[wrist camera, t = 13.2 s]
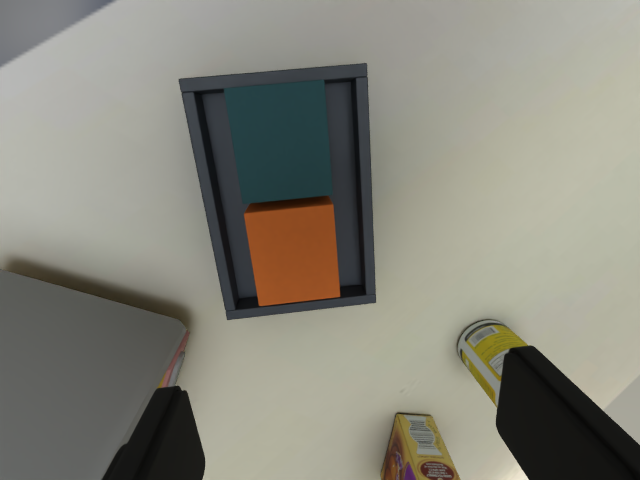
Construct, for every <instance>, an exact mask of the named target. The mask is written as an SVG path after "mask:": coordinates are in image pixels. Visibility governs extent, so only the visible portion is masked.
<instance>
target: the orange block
mask: <svg viewBox="0 0 640 480" xmlns="http://www.w3.org/2000/svg"><path fill="white" fill-rule="evenodd" d="M244 218H245V224H246V230H247V236H248V243H249V249H250V255H251V261H252V267H253V273H254V279H255V285H256V291H257V297H258V303H259V306H266V305H274V304H283V303H292V302H300V301H309V300H318V299H326V298H335V297H340V285H339V272H338V258H337V245H336V232H335V219H334V206H333V203H332V201H331V200H330V198H329V196H319V197H309V198H299V199H289V200H279V201H269V202H260V203H250V204H249V206H248V208H247V209H246V211H245V213H244Z"/></svg>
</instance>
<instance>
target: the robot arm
mask: <svg viewBox="0 0 640 480" xmlns="http://www.w3.org/2000/svg"><path fill="white" fill-rule="evenodd" d="M496 427H497V430H498V432H499V434H500V436H501V438H502V439H503V441H504V442H505V444H506V445H507V447H508V448H509V450H510V451H511V453H512V454H513V456H514V457H515V459H516V460H517V462H518V464H519V465H520V467H521V468H522V470H523V471H524V473H525V474H526V476H527V477H528V479H529V480H640V445H639V444H638V443H637V442H636V441H635V440H634V439H633V438H632V437H631V436H629V435H628V434H627V433H626V432H625V431H624V430H623V429H622V428H621V427H620V426H619V425H618V424H617V423H616V422H614V421H613V420H612V419H611V418H610V417H609V416H608V415H607V414H606V413H605V412H604V411H603V410H602V409H601V408H599V407H598V406H597V405H596V404H595V403H594V402H593V401H592V400H591V399H590V398H589V397H588V396H587V395H586V394H584V393H583V392H582V391H581V390H580V389H579V388H578V387H577V386H576V385H575V384H574V383H573V382H572V381H571V380H570V379H568V378H567V377H566V376H565V375H564V374H563V373H562V372H561V371H560V370H559V369H558V368H557V367H556V366H555V365H553V364H552V363H551V362H550V361H549V360H548V359H547V358H546V357H545V356H544V355H543V354H542V353H541V352H540V351H538V350H537V349H536V348H535V347H534V346H521V347H513V348H510V349H509V352H508V353H507V354H505V355H504V360H503V368H502V376H501V384H500V392H499V399H498V407H497V415H496ZM204 470H205V456H204V452H203V448H202V445H201V441H200V437H199V434H198V430H197V426H196V423H195V419H194V415H193V412H192V408H191V404H190V401H189V397H188V393H187V391H185V390H184V391H182V390H181V388H180V387H179V386H171V387H163V388H157V389H156V390H155V392H154V393H153V395H152V397H151V399H150V401H149V403H148V405H147V407H146V408H145V410H144V412H143V414H142V416H141V418H140V420H139V422H138V424H137V426H136V427H135V429H134V431H133V433H132V435H131V437H130V439H129V441H128V443H126V444H124V445H123V446H121V447H120V448H119V450H118V451H117V453H116V454H115V456H114V458H113V460H112V462H111V464H110V466H109V467H108V469H107V471H106V473H105V475H104V477H103V478H102V480H202V479H203V475H204Z"/></svg>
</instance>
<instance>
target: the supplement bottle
mask: <svg viewBox="0 0 640 480" xmlns="http://www.w3.org/2000/svg"><path fill="white" fill-rule="evenodd" d="M521 346H528V345H527V344H526V343H525V342H524V341H523V340H522V339H521V338H519V337H518V336H517V335H516V334H515V333H514V332H513V331H511V330H510V329H509V328H508V327H507V326H505V325H504V324H502V323H500V322H498V321H493V320H485V321H481V322H478V323H475V324H474V325H472V326H470V327H469V328H468V329H467V330H466V331H465V332H464V333H463V335H462V336H461V338H460V340H459V344H458V353H459V356H460V358H461V360H462V361H463V363H464V364H465V366H466V367H467V368H468V370H469V371H470V372H471V374H472V375H473V376H474V378H475V379H476V380H477V382H478V383H479V384H480V386H481V387H482V388H483V390H484V391H485V392H486V394H487V395H488V396H489V398H490V399H491V400H492V402H493V403H494V404H495V406H496V407H498V399H499V392H500V384H501V376H502V368H503V360H504V355H505V354H507V353H508V352H509V349H510V348H513V347H521Z"/></svg>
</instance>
